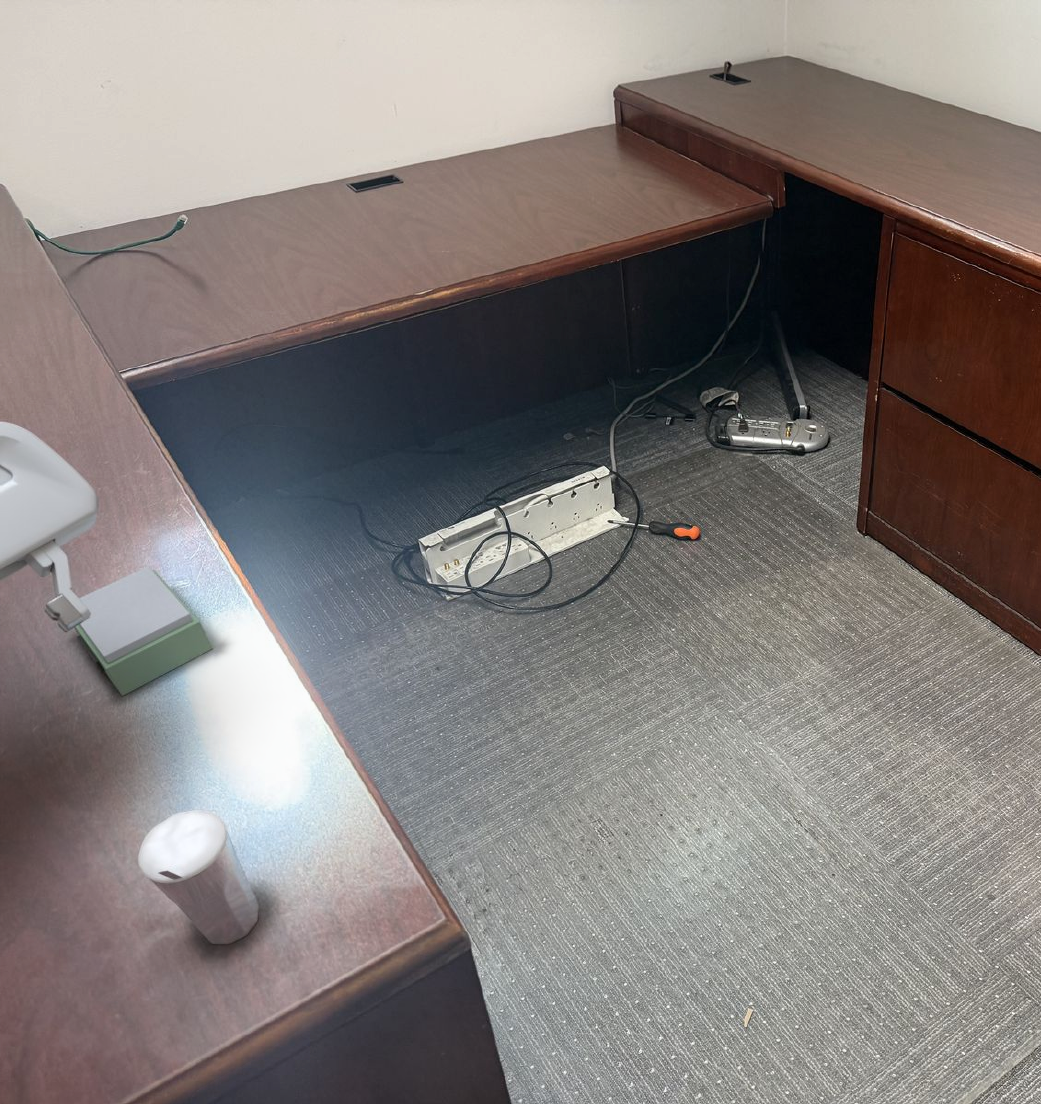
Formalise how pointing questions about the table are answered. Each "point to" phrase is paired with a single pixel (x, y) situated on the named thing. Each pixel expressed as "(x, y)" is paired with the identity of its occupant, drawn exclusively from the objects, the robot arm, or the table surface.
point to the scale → (139, 630)
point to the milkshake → (201, 874)
